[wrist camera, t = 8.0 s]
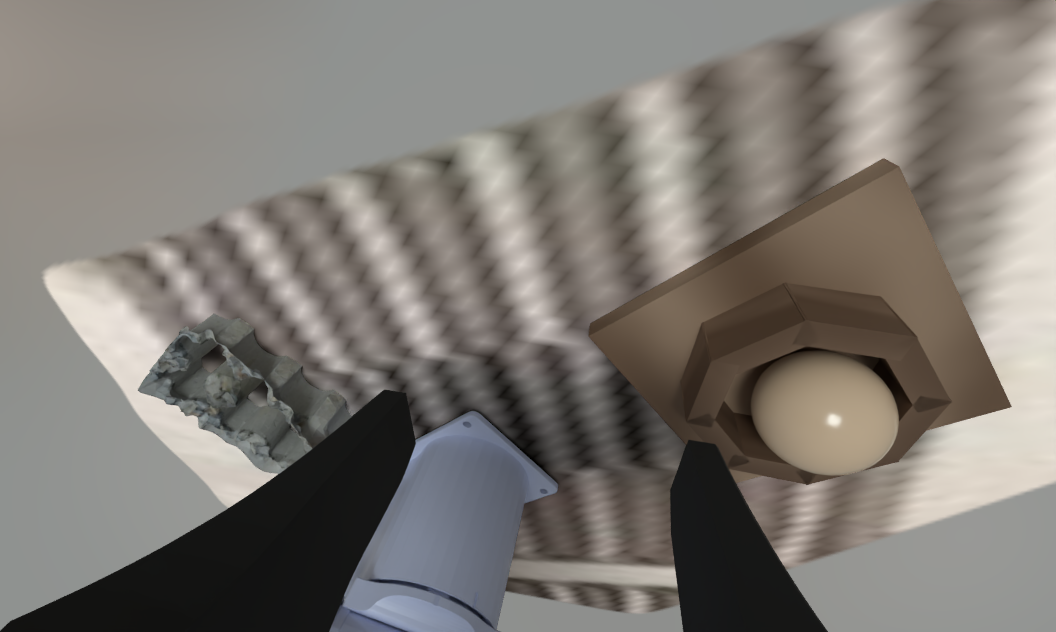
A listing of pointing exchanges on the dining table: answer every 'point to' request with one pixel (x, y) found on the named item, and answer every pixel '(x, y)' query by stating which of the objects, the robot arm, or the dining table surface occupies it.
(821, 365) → the egg
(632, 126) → the dining table surface
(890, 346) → the egg stand
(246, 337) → the egg carton
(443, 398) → the dining table surface
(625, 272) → the dining table surface
